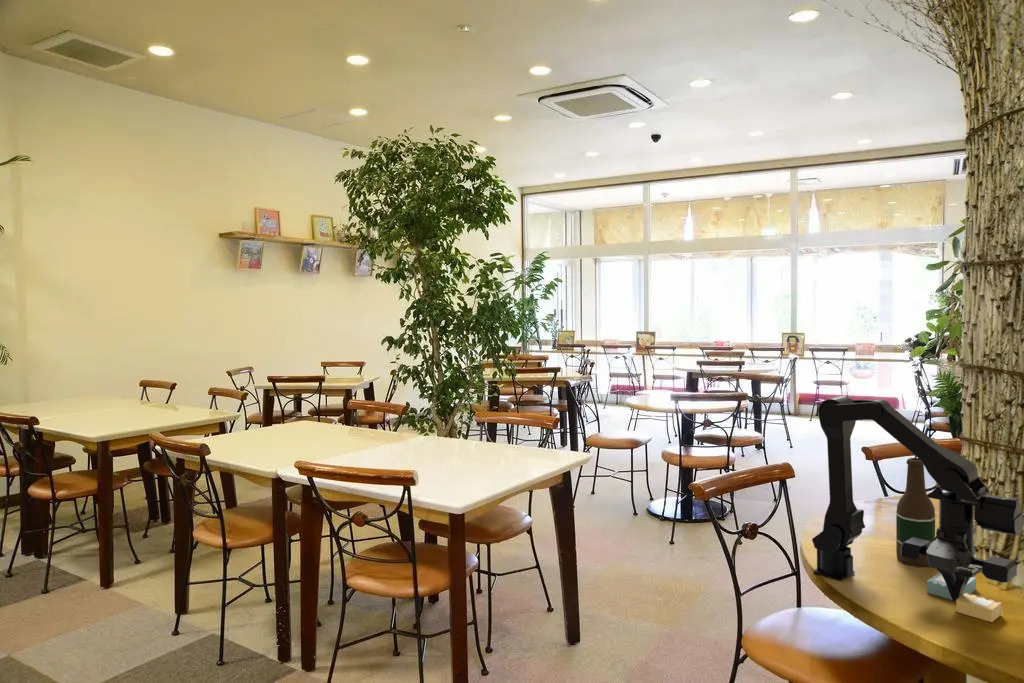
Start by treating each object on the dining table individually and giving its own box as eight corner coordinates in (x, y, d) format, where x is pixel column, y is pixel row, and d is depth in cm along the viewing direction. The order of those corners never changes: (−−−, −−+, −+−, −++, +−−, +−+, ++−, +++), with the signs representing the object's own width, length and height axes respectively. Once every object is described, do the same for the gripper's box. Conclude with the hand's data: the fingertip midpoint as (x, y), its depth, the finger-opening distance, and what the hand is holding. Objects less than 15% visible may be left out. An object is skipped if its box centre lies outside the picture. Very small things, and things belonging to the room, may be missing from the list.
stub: (956, 611, 134) (956, 599, 134) (965, 604, 137) (965, 592, 137) (992, 622, 130) (992, 609, 130) (1001, 614, 133) (1001, 601, 132)
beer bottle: (912, 553, 165) (912, 453, 163) (943, 564, 158) (943, 460, 156) (888, 558, 162) (888, 457, 161) (918, 570, 155) (919, 464, 153)
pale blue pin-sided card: (926, 592, 144) (926, 580, 143) (944, 580, 149) (944, 569, 149) (959, 601, 139) (959, 589, 139) (975, 589, 144) (976, 577, 144)
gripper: (887, 521, 138) (887, 597, 139) (996, 545, 123) (996, 630, 124) (912, 509, 145) (912, 582, 146) (1018, 531, 130) (1017, 612, 131)
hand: (955, 600), depth 137 cm, fingers closed
